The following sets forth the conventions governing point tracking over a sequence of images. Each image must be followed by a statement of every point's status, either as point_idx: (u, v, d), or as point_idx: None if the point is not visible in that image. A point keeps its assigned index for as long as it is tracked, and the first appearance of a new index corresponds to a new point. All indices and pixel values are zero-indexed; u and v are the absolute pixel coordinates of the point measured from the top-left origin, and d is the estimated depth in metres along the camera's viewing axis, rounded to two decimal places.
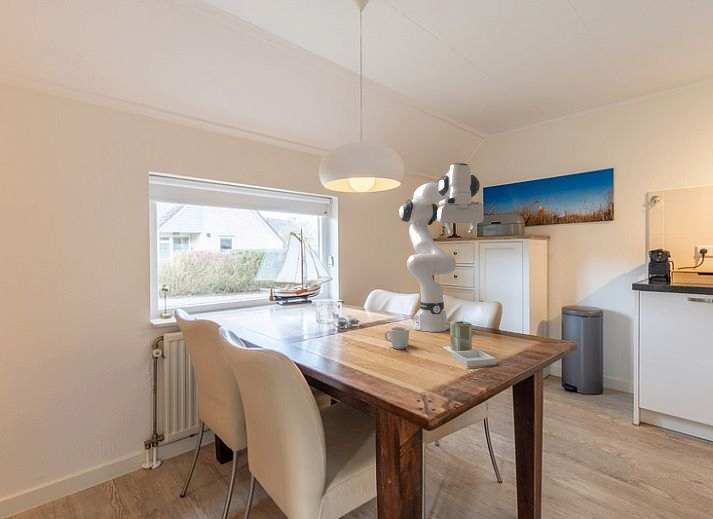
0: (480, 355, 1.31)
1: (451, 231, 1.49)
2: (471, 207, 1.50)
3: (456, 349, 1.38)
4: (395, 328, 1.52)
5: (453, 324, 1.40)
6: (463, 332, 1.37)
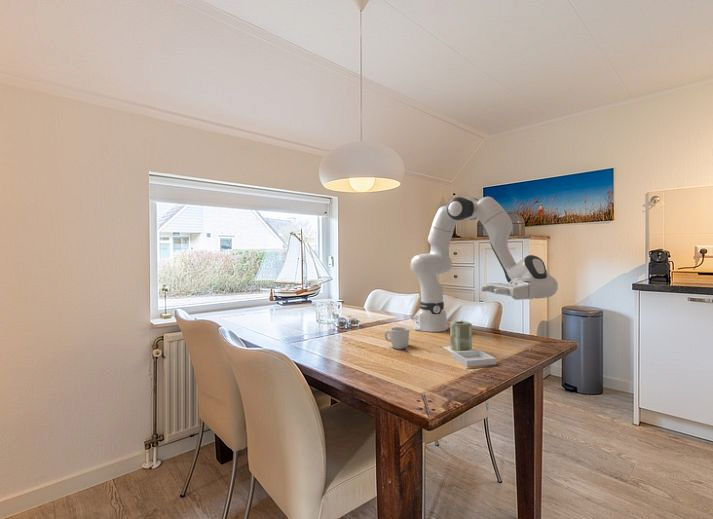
0: (480, 355, 1.31)
1: (497, 293, 1.38)
2: None
3: (456, 349, 1.38)
4: (395, 328, 1.52)
5: (453, 324, 1.40)
6: (463, 332, 1.37)
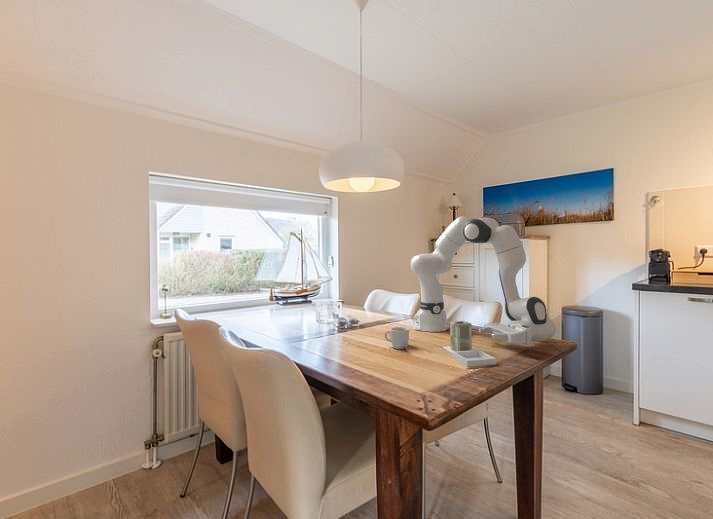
0: (480, 355, 1.31)
1: None
2: None
3: (456, 349, 1.38)
4: (395, 328, 1.52)
5: (453, 324, 1.40)
6: (463, 332, 1.37)
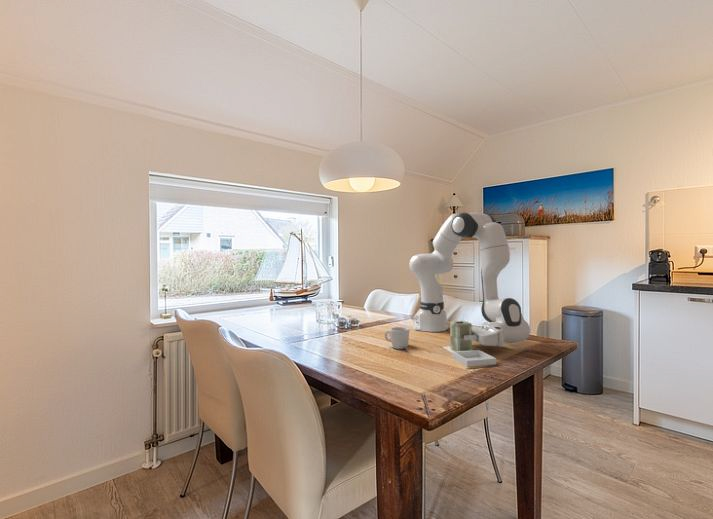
0: (480, 355, 1.31)
1: None
2: None
3: (456, 349, 1.38)
4: (395, 328, 1.52)
5: (453, 324, 1.40)
6: (463, 332, 1.37)
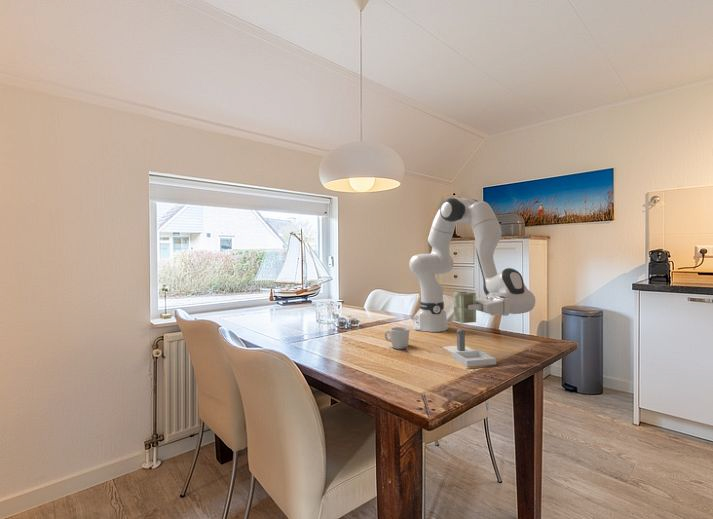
0: (480, 355, 1.31)
1: None
2: None
3: (460, 319, 1.34)
4: (395, 328, 1.52)
5: (456, 294, 1.36)
6: (467, 301, 1.33)
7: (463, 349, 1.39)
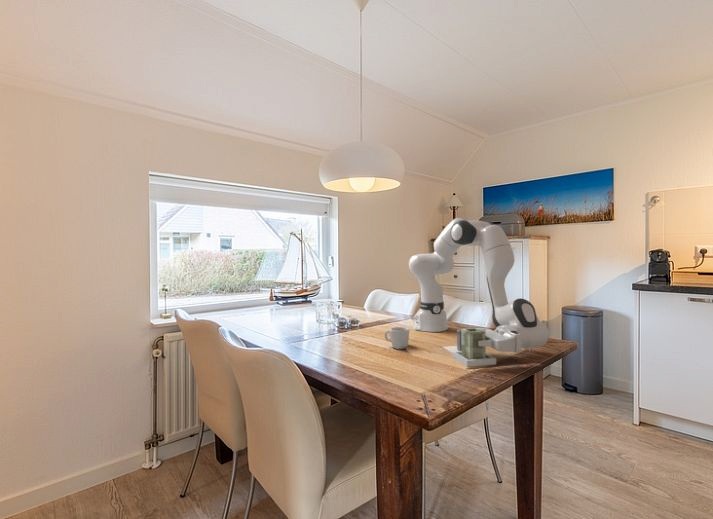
0: None
1: None
2: None
3: (468, 359, 1.25)
4: (395, 328, 1.52)
5: (465, 332, 1.27)
6: (476, 340, 1.24)
7: None
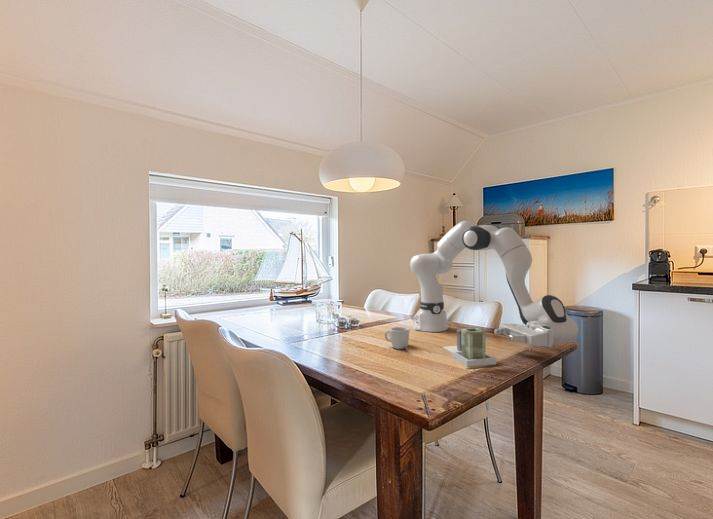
0: None
1: None
2: None
3: (468, 359, 1.25)
4: (395, 328, 1.52)
5: (465, 332, 1.27)
6: (476, 340, 1.24)
7: None
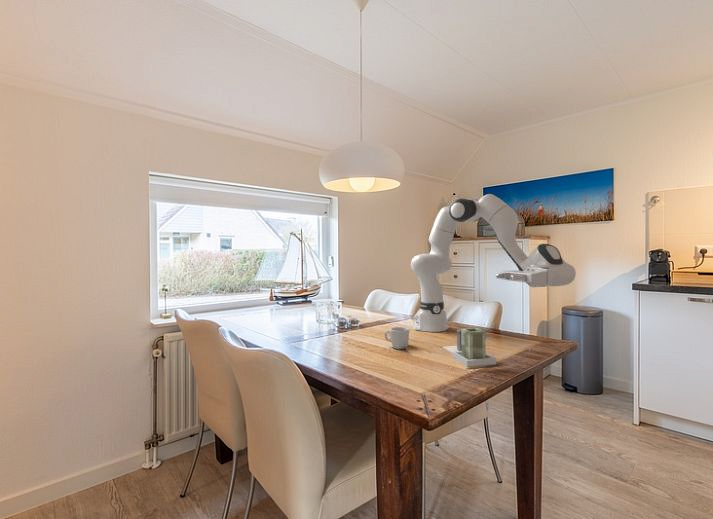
0: None
1: (514, 280, 1.32)
2: None
3: (468, 359, 1.25)
4: (395, 328, 1.52)
5: (465, 332, 1.27)
6: (476, 340, 1.24)
7: None
